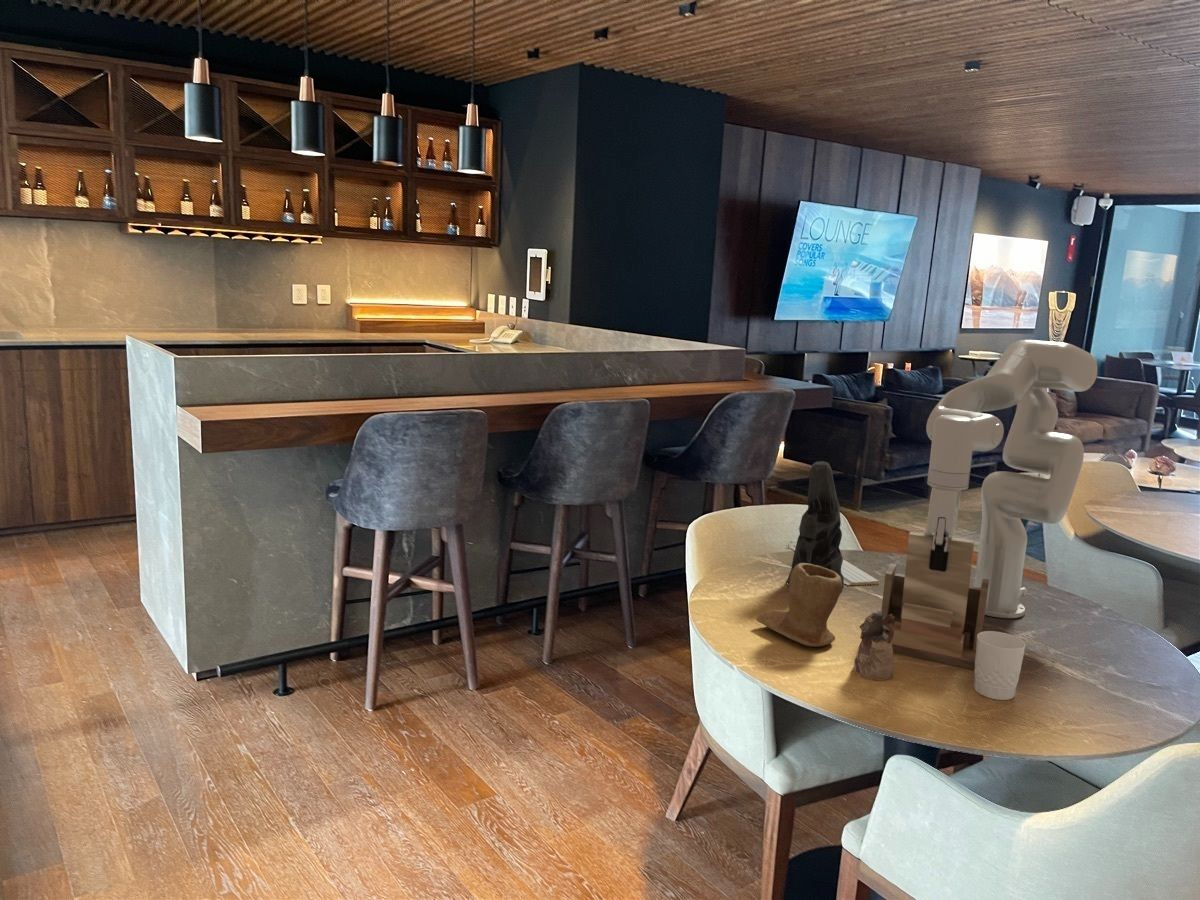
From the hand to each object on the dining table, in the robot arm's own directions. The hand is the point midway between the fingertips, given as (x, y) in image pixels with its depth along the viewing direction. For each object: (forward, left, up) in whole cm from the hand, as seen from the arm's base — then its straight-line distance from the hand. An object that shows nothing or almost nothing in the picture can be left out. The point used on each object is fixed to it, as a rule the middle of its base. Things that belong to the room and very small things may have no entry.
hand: (938, 567), depth 175 cm
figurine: (+21, +3, -16) cm, 27 cm away
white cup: (+8, +20, -16) cm, 27 cm away
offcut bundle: (+5, +3, -15) cm, 16 cm away
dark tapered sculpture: (-6, -36, -16) cm, 40 cm away
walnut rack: (+2, +1, -16) cm, 16 cm away
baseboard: (-21, -45, -17) cm, 52 cm away
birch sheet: (0, 0, -14) cm, 14 cm away
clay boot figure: (+20, -16, -16) cm, 31 cm away
